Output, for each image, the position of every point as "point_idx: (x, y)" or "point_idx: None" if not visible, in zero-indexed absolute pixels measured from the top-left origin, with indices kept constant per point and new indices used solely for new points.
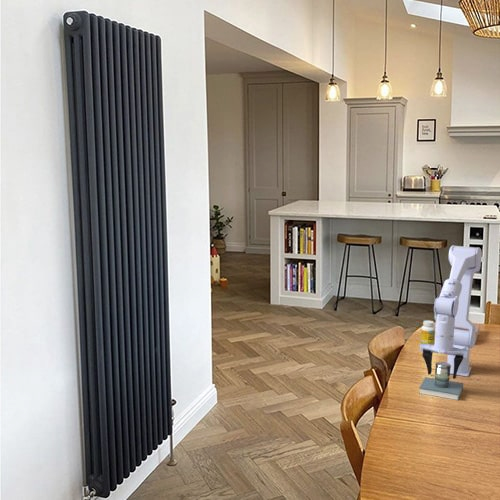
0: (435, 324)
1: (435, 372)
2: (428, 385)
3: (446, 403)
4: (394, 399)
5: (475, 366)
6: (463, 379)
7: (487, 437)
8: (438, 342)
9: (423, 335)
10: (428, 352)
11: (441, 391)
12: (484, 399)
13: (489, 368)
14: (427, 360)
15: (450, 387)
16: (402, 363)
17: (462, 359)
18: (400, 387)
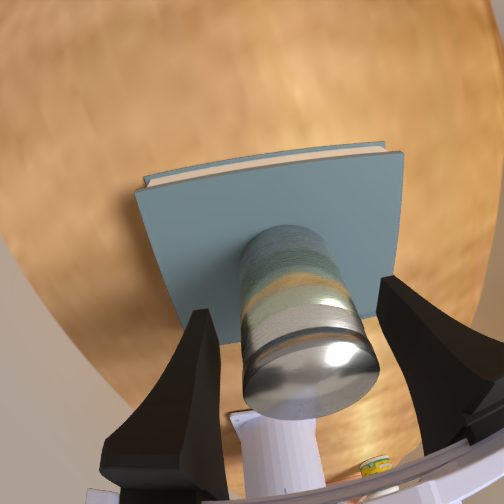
0: (364, 498)
1: (352, 302)
2: (358, 217)
3: (186, 84)
4: (462, 5)
5: (240, 454)
6: (234, 394)
7: None
8: None
9: None
10: (485, 422)
11: (253, 169)
12: (62, 273)
13: None
14: (468, 344)
15: (224, 265)
16: None
17: (101, 471)
18: (469, 177)
